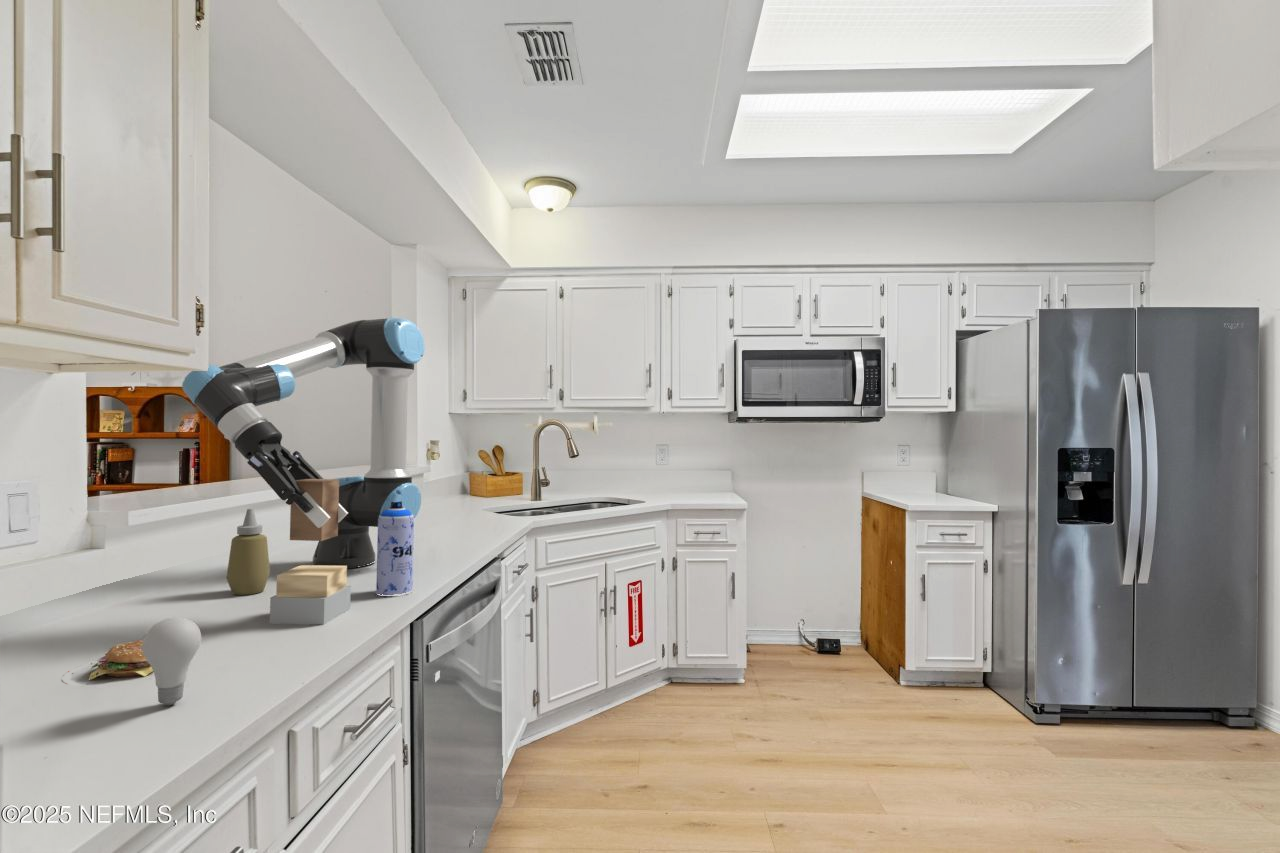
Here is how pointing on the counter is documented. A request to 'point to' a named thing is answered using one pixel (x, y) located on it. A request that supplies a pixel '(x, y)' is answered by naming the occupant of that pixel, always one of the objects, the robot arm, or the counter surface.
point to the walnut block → (327, 499)
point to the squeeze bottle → (248, 558)
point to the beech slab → (311, 581)
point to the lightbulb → (171, 655)
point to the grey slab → (309, 608)
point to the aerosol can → (395, 550)
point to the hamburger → (123, 661)
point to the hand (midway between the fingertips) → (333, 520)
